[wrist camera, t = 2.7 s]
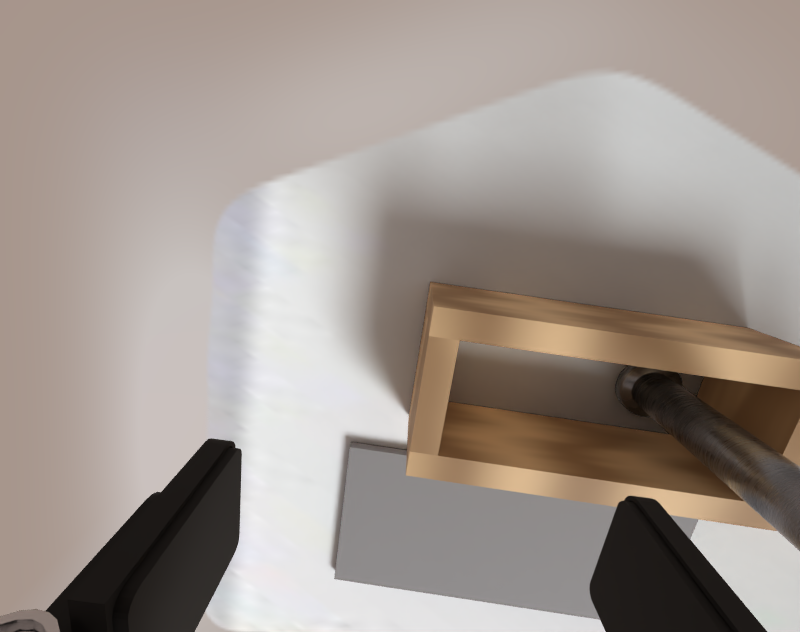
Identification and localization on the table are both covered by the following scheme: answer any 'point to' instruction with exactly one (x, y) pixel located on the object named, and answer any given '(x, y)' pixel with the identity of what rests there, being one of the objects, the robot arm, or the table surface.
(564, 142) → the table surface
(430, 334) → the open wooden frame
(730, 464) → the post stand
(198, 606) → the robot arm
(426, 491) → the rubber mat
